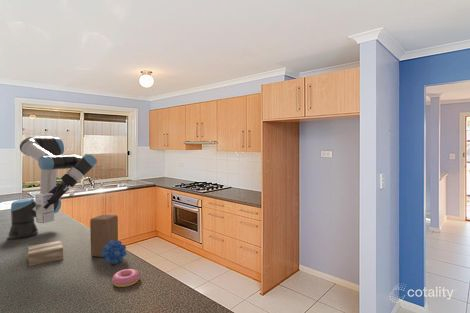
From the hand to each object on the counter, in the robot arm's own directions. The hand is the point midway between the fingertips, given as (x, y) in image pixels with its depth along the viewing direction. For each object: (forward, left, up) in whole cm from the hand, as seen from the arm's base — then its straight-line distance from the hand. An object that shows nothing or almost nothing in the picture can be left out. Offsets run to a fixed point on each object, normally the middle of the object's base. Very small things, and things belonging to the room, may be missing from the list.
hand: (36, 212), depth 135 cm
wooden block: (+17, +26, -25) cm, 40 cm away
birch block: (0, +3, -25) cm, 25 cm away
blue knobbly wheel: (+35, +24, -25) cm, 49 cm away
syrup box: (0, +3, -6) cm, 7 cm away
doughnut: (+55, +20, -25) cm, 64 cm away
